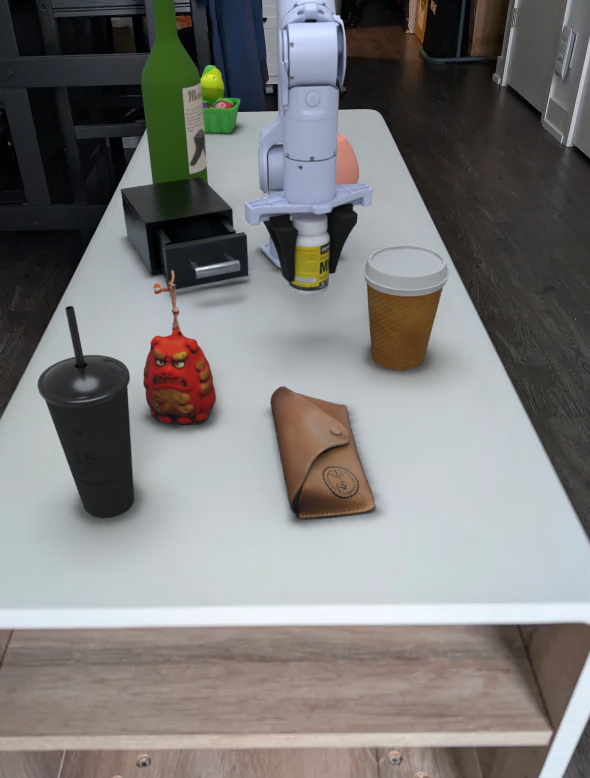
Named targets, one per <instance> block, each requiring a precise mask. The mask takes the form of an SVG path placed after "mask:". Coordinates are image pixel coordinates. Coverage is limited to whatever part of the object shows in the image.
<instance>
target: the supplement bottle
mask: <svg viewBox="0 0 590 778" xmlns="http://www.w3.org/2000/svg"><path fill="white" fill-rule="evenodd" d="M292 221H293V226H294V227H295V228H296V229H297V230H298V235H297V240H296V246H295V278H294V281H292V282H288V287H289V289H290V290H291V291H292V292H293V293H295V294H298V295H302V296H316V295H319V294H322V293H324V292H326V291H327V289H328V288H329V282H330V281H329V280H330V279H329V278H330V273H329V255H330V236H329V234H328V232H327V227H328V224H327V215H326V214H314V213H309V214H303V215H297V216H293V217H292Z"/></svg>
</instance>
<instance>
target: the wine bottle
mask: <svg viewBox="0 0 590 778" xmlns="http://www.w3.org/2000/svg"><path fill="white" fill-rule="evenodd" d="M152 5H153V18H154V31H155V38H154V39H155V40H154V43H153V45H152V48H151V50H150V53H149V55H148V58H147V60H146V61H145V65H144V67H143V69H142V72H141V83H140V85H141V95H142V102H143V111H144V119H145V120H144V121H145V128H146V139H147V146H148V154H149V164H150V171H151V181H152V184H157V183H163V182H170V181H177V180H183V179H190V178H197V177H202V178H203V179H204V180H205V181H206V183H207V184H208V185H209V179H208V163H207V162H208V161H207V160H208V159H207V149H206V147H207V146H206V135H205V132H204V118H203V105H202V91H201V80H200V79H201V77H200V72H199V69H198V67H197V65H196V64H195V63H194V61H193V60H192V58H191V57H190V55H189V53H188V51H187V50H186V48H185V47H184V45H183V43H182V42H181V41H180V37H179V36H178V25H177V17H176V6H175V0H152Z"/></svg>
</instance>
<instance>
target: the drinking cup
mask: <svg viewBox="0 0 590 778" xmlns="http://www.w3.org/2000/svg"><path fill="white" fill-rule="evenodd" d="M64 310H65V316H66V319H67V323H68V329H69V334H70V340H71V343H72V349H73V354H74V356H72V357H68V358H65V359H62V360H60V361H57V362H55V363H53V364H51V365H50V366H49V367H47V368H46V369H45V370H44V371H43V372H41V374H40V375H39V377H38V380H37V389H38V390H37V391H38V393H39V395H40V396H41V398H42V399H44V400H45V404H46V406H47V409H48V412H49V415H50V417H51V420H52V423H53V425H54V428H55V431H56V434H57V437H58V440H59V443H60V445H61V448H62V451H63V453H64V456H65V459H66V462H67V464H68V468H69V471H70V473H71V476H72V479H73V481H74V484H75V487H76V489H77V492H78V493H77V494H78V495H79V498H80V500H81V505H82V506H83V509H84V510H85V512H86V513H88V514H89V515H91V516H93V517H96V518H113V517H117V516H119V515H122V514H124V513H126V512H127V511H128V510H129V509H130V508H131V507H132V506H133V504H134V502H135V489H134V487H135V486H134V472H133V471H134V470H133V456H132V439H131V424H130V423H131V422H130V406H129V405H130V404H129V390H128V386H129V384H130V381H131V375H130V370H129V368H128V366H127V365H126V364H125V363H124V362H122V361H121V360H119V359H117V358H115V357H112V356H108V355H102V354H84V352H83V347H82V341H81V337H80V332H79V326H78V321H77V317H76V310H75V307H74V306H72V305H68V306H66V307H64Z"/></svg>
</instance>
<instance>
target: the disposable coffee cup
mask: <svg viewBox="0 0 590 778" xmlns="http://www.w3.org/2000/svg"><path fill="white" fill-rule="evenodd" d="M447 263H448V261H447V259H446V257H445V256H444V255H443V254H442V253H441V252H440V251H438V250H435V249H433V248H430V247H426V246H422V245H418V244H417V245H416V244H392V245H386V246H381V247H380V248H377V249H374V250H373V251H372V252H371V253H369V256H368V257H367V260H366V262H365V264H364V265H363V267H362V275H363V277H364V281H365V282H366V292H367V308H368V309H367V310H368V323H369V336H370V337H369V339H370V352H371V354H370V355H371V359H372V361H373V362H374V363H375V364H377V365H378V366H381V367H383V368H385V369H388V370H389V369H390V370H395V371H398V370H399V371H403V370H410V369H414V368H417V367H419V366H420V365H421V364H423V363H424V361H425V357H426V354H427V349H428V346H429V341H430V338H431V334H432V331H433V327H434V323H435V319H436V316H437V312H438V308H439V304H440V301H441V296H442V292H443V289H444V286H445V285H446V283H447V281H448V279H449V278H450V275H451V273H450V269H449V267H448V264H447Z"/></svg>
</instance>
